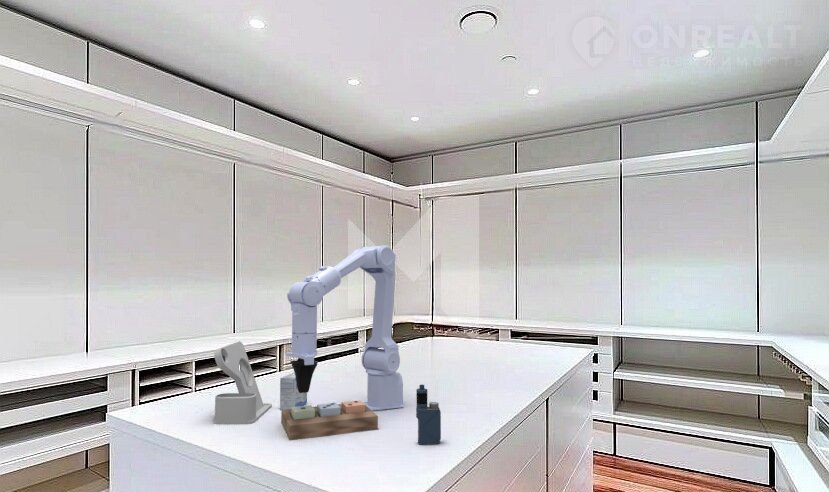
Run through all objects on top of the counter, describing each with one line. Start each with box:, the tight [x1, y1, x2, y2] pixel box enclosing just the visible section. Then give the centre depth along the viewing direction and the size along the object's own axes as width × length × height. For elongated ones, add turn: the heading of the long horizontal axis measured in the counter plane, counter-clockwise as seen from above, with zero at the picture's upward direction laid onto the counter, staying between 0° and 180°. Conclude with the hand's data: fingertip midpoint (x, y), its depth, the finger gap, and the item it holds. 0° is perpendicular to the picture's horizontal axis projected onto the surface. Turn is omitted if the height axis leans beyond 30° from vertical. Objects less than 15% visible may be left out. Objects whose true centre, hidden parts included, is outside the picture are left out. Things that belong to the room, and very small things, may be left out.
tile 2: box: [341, 400, 365, 414], centre depth 114 cm, size 5×5×2 cm
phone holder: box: [212, 341, 273, 425], centre depth 122 cm, size 17×10×18 cm, turn 1°
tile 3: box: [316, 402, 340, 417], centre depth 112 cm, size 5×5×2 cm
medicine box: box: [279, 372, 308, 410], centre depth 129 cm, size 8×4×9 cm, turn 168°
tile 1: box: [291, 404, 315, 420], centre depth 110 cm, size 5×5×2 cm
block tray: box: [280, 403, 379, 441], centre depth 112 cm, size 20×14×3 cm
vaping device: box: [415, 384, 442, 446], centre depth 100 cm, size 3×5×12 cm, turn 95°
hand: (303, 391), depth 110 cm, fingers closed
